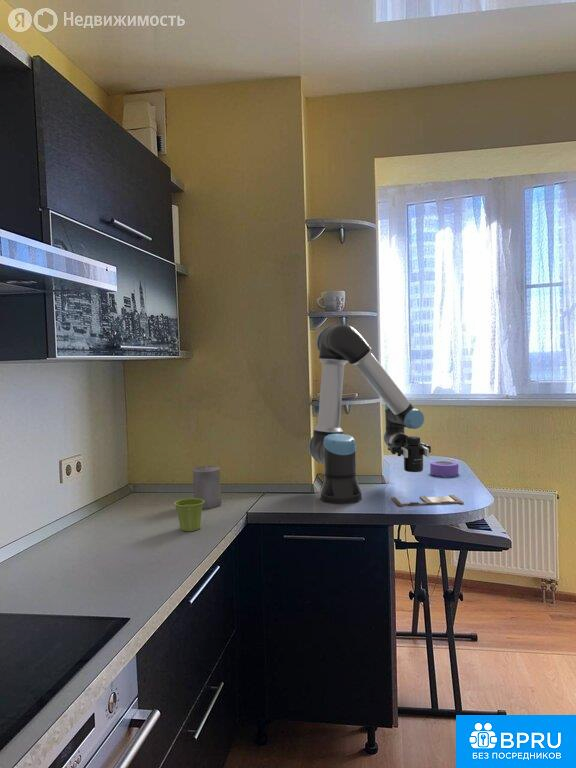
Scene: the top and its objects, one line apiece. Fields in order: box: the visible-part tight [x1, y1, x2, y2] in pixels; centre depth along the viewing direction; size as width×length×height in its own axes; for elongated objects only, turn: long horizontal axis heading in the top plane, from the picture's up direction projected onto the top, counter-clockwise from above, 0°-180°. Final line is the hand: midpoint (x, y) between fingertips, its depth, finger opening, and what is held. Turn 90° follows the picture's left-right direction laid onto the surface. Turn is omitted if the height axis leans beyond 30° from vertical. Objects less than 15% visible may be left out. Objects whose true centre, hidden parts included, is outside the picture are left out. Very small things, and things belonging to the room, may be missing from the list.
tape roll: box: [429, 460, 459, 477], centre depth 252 cm, size 12×12×5 cm
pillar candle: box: [192, 464, 222, 510], centre depth 211 cm, size 10×10×15 cm
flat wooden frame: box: [391, 494, 465, 508], centre depth 207 cm, size 23×11×1 cm, turn 93°
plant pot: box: [173, 498, 204, 532], centre depth 183 cm, size 9×9×9 cm
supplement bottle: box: [403, 436, 424, 473], centre depth 207 cm, size 7×7×12 cm
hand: (417, 453), depth 202 cm, fingers closed on supplement bottle, 7 cm apart
